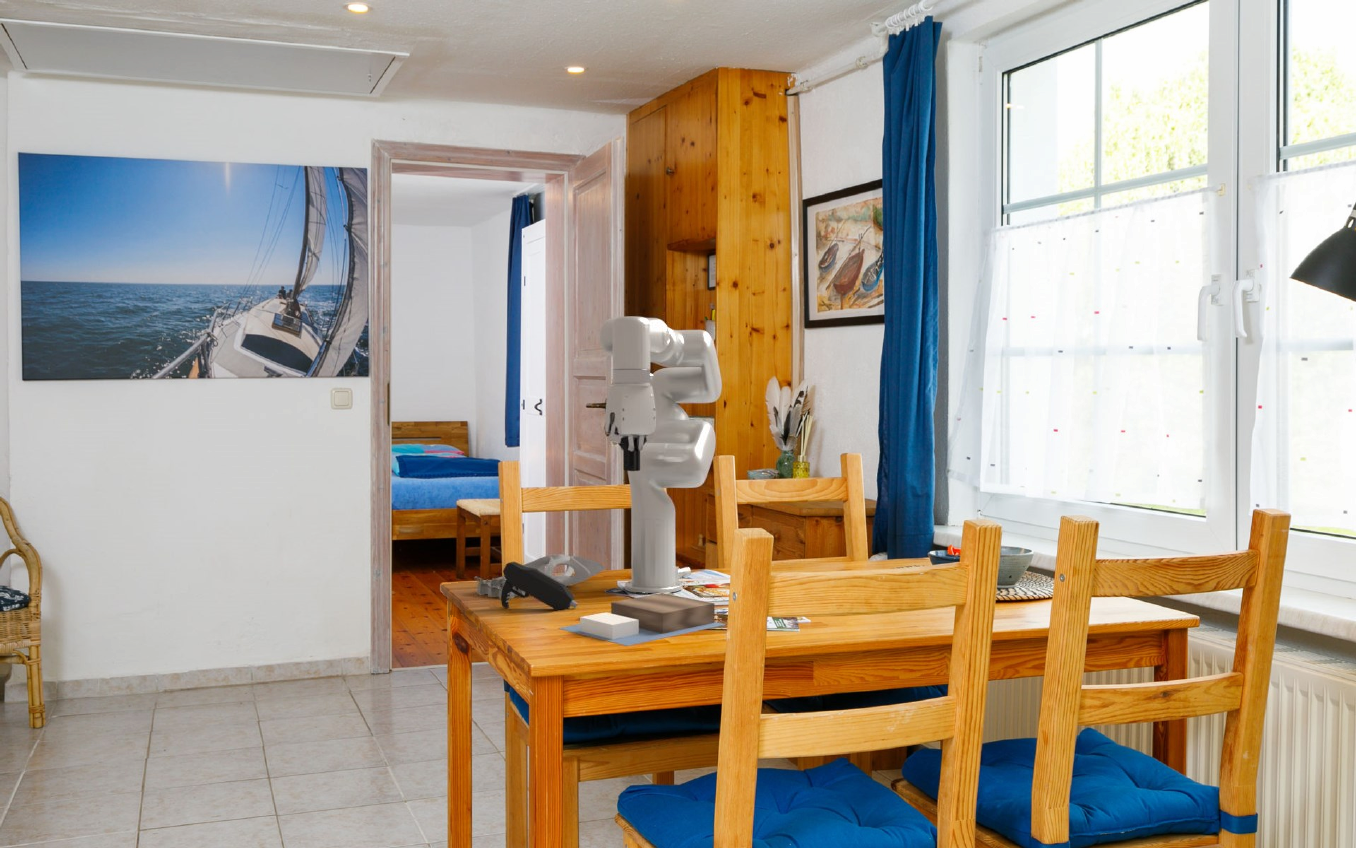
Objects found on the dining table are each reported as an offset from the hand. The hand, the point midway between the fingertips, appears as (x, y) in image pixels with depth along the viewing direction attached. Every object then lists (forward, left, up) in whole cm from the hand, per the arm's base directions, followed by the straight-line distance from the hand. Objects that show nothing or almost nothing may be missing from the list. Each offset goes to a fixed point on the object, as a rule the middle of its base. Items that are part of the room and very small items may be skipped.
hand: (631, 470), depth 223 cm
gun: (+16, -10, -27) cm, 33 cm away
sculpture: (-5, -30, -28) cm, 41 cm away
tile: (+21, +17, -24) cm, 36 cm away
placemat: (+13, +18, -27) cm, 35 cm away
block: (+8, +18, -27) cm, 33 cm away
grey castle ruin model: (+12, -28, -28) cm, 41 cm away
